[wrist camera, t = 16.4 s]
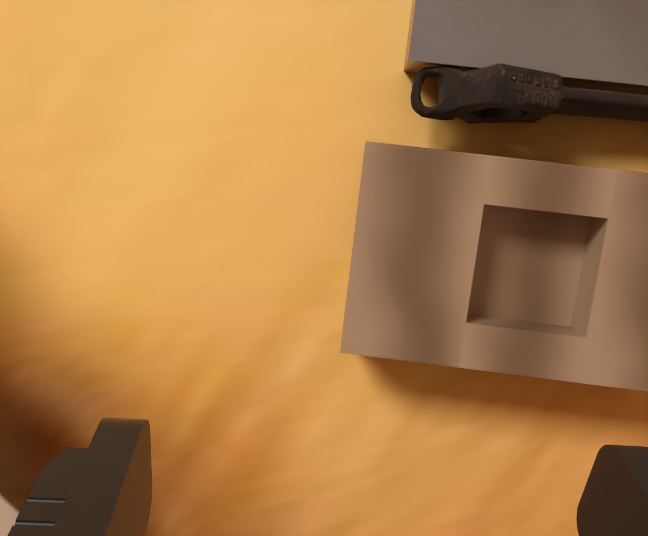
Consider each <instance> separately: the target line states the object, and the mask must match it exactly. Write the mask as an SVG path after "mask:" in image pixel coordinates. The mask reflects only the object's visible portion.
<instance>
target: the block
mask: <svg viewBox="0 0 648 536" xmlns="http://www.w3.org/2000/svg"><path fill="white" fill-rule="evenodd" d="M497 63H500V64H507V65H512V66H517V67H523V68H529V69H535V70H539V71H544V72H549V73H555V74H558V75H561V77H562V84H563V86H564V87H570V88H584V89H595V90H606V91H616V92H625V93H634V94H642V95H648V0H413V3H412V10H411V18H410V26H409V34H408V42H407V49H406V57H405V65H404V71H409V72H419V71H420V70H421V69H423V68H426V67H441V66H442V67H456V68H458V69H459V70H460V71H462V72H466V71H470V70H475V69H479V68H483V67H488V66H492V65H495V64H497Z"/></svg>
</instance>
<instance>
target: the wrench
mask: <svg viewBox="0 0 648 536" xmlns="http://www.w3.org/2000/svg"><path fill="white" fill-rule="evenodd" d="M426 77H432V78H433V79H434V80H435V81H436V82H437V84H438V89H439V94H438V104H437V105H436V106H434V107H426V106H424V105H423V103H422V101H421V97H420V92H421V87H422V84H423V82H424V79H425V78H426ZM411 105H412V108H413V109H414V111H415V112H416V113H418V114H419V115H420V116H422V117H426V118H432V119H438V120H452V119H454V118H456V117H458V118H461V119H463V120H465V121H466V122H467V123H500V122H524V123H530V122H535V121H537V120H540V119H541V118H543V117H545V116H547V115H548V114H550V113H554V114H566V115H580V116H590V117H602V118H613V119H624V120H635V121H646V122H648V95H642V94H634V93H625V92H616V91H606V90H595V89H584V88H570V87H564V86H563V84H562V77H561V75H558V74H555V73H549V72H544V71H539V70H535V69H529V68H523V67H517V66H512V65H507V64H500V63H497V64H495V65H492V66H488V67H483V68H479V69H475V70H470V71H466V72H462V71H460V70H459V69H458V68H456V67H442V66H441V67H426V68H423V69H421V70H420V71H419V72H418V73H417V75H416V77H415V78H414V81H413V86H412V92H411Z"/></svg>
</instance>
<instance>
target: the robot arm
mask: <svg viewBox="0 0 648 536" xmlns="http://www.w3.org/2000/svg"><path fill="white" fill-rule="evenodd" d="M151 497H152V470H151V444H150V425H149V421H148V420H141V419H122V418H103V419H102V420H101V421H100V423H99V425H98V427H97V430H96V432H95V434H94V436H93V439H92V441H91V443H90V446H89V448H88V449H87V448H65V449H64V450H63V451H62V452H61V453H60V454H58V455H57V456H56V457H55V458H54V459H53V460H52V461H51V462H50V463H49V464H47V465H46V466H45V467H44V468H43V469H42V470H41V472H40V474H39V476H38V477H37V479H36V481H35V483H34V485H33V487H32V489H31V491H30V493H29V495H28V497H27V502H26V503H24V505H23V507H22V509H21V511H20V513H19V514H18V517H17V519H16V523H15V526H12V528H11V530H10V532H9V534H8V536H144V534H145V530H146V527H147V523H148V518H149V513H150V506H151ZM577 528H578V533H579V536H648V447H642V446H622V445H604V446H603V447H602V448H601V449H600V450H599V452H598V454H597V457H596V459H595V462H594V465H593V467H592V470H591V473H590V475H589V478H588V481H587V483H586V486H585V489H584V491H583V494H582V497H581V499H580V502H579V505H578V509H577Z"/></svg>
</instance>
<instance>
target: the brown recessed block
mask: <svg viewBox="0 0 648 536" xmlns="http://www.w3.org/2000/svg"><path fill="white" fill-rule="evenodd" d="M340 353H347V354H355V355H363V356H371V357H379V358H387V359H394V360H402V361H410V362H418V363H426V364H434V365H442V366H449V367H457V368H465V369H473V370H481V371H489V372H497V373H504V374H512V375H520V376H528V377H536V378H544V379H552V380H560V381H567V382H575V383H583V384H591V385H599V386H607V387H615V388H622V389H630V390H638V391H646V392H648V173H643V172H634V171H625V170H616V169H607V168H598V167H589V166H581V165H572V164H563V163H554V162H545V161H536V160H527V159H518V158H509V157H500V156H491V155H483V154H474V153H465V152H456V151H447V150H438V149H429V148H420V147H411V146H402V145H393V144H385V143H376V142H367V141H366V144H365V152H364V160H363V169H362V177H361V185H360V193H359V202H358V210H357V218H356V226H355V235H354V243H353V251H352V259H351V268H350V276H349V284H348V292H347V300H346V309H345V317H344V325H343V333H342V342H341V350H340Z"/></svg>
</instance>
